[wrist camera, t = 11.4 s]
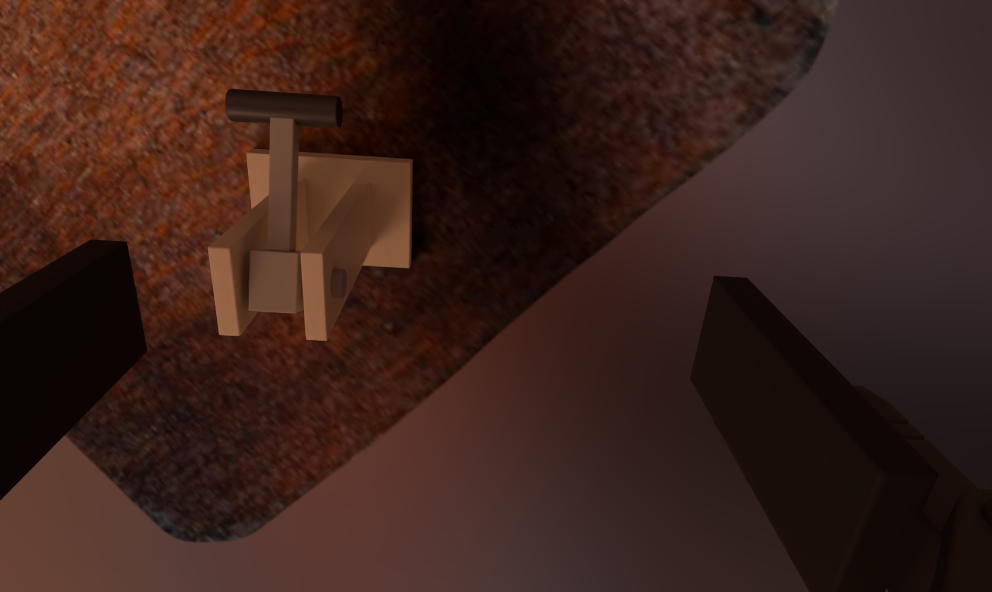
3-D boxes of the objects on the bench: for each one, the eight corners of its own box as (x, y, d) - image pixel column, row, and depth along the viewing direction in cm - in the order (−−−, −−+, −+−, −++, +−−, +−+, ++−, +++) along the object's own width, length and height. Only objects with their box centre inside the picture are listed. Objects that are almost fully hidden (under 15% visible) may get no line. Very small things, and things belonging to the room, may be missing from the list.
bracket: (252, 148, 39) (143, 214, 26) (412, 158, 39) (379, 228, 27) (262, 253, 42) (167, 357, 29) (411, 261, 42) (381, 367, 30)
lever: (240, 94, 30) (220, 82, 28) (345, 102, 30) (334, 91, 28) (236, 303, 31) (217, 309, 29) (338, 308, 31) (327, 315, 29)
